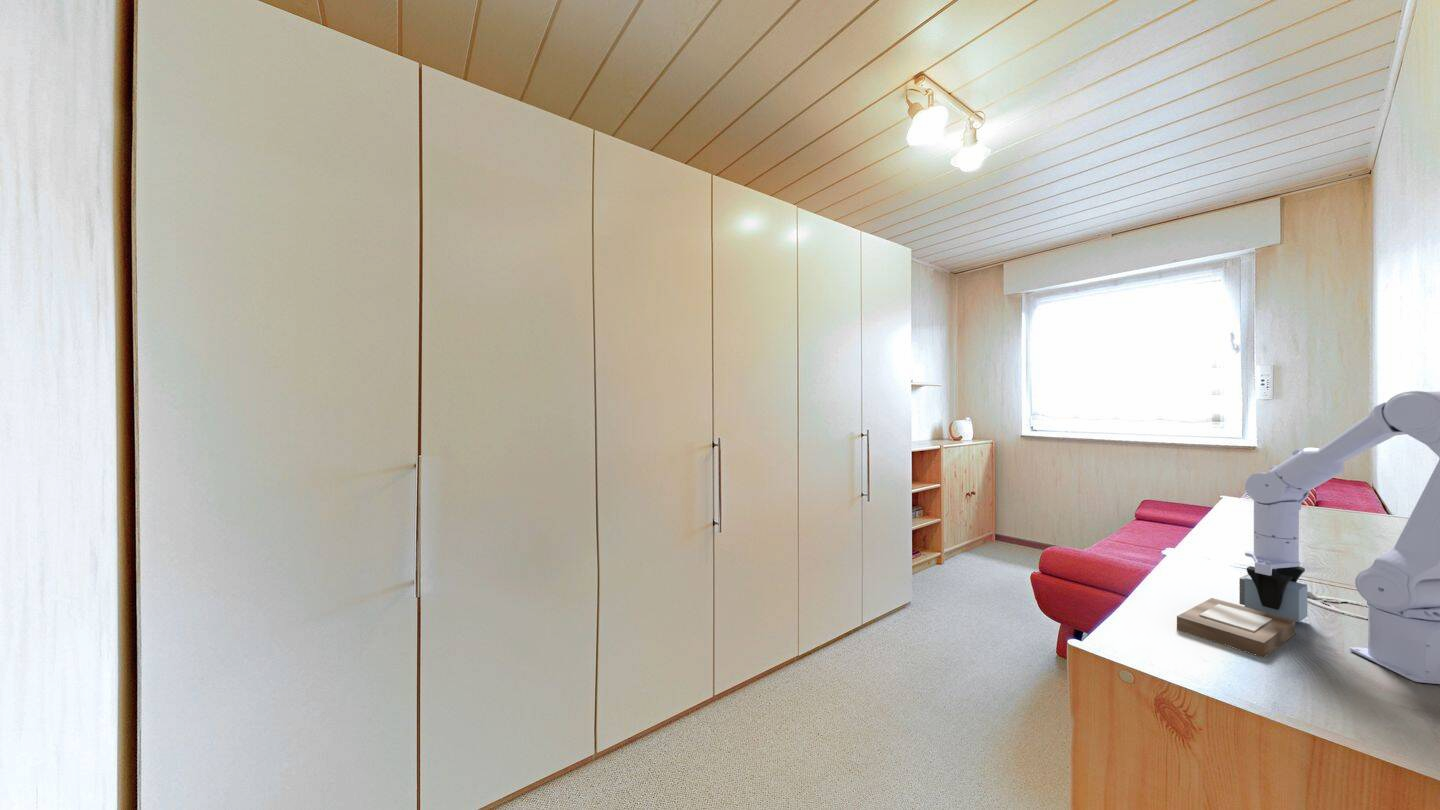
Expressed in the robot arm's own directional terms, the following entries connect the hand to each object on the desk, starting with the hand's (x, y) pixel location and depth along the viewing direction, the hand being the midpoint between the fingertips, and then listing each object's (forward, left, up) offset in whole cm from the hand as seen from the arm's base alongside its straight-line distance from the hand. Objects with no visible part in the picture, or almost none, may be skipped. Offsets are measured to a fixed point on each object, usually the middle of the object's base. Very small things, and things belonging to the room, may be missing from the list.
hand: (1275, 604), depth 93 cm
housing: (0, 0, -2) cm, 2 cm away
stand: (-8, +12, -3) cm, 15 cm away
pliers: (+10, -15, -3) cm, 18 cm away
